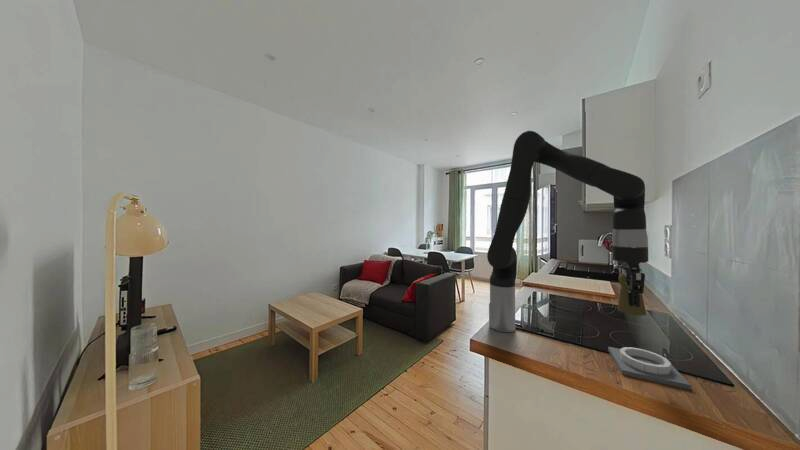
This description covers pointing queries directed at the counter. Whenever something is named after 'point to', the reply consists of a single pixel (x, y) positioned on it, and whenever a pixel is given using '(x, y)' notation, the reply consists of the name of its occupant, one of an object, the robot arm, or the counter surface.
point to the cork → (624, 301)
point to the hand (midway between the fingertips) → (631, 303)
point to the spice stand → (647, 366)
